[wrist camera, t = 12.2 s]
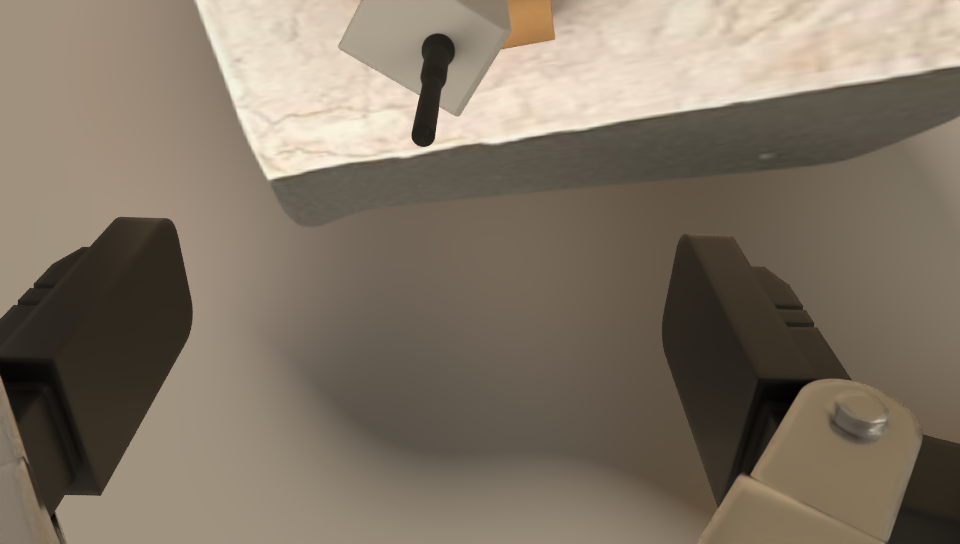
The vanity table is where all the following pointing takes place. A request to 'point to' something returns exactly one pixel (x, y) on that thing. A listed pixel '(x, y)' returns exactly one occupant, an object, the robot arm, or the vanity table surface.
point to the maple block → (529, 22)
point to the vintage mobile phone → (430, 49)
